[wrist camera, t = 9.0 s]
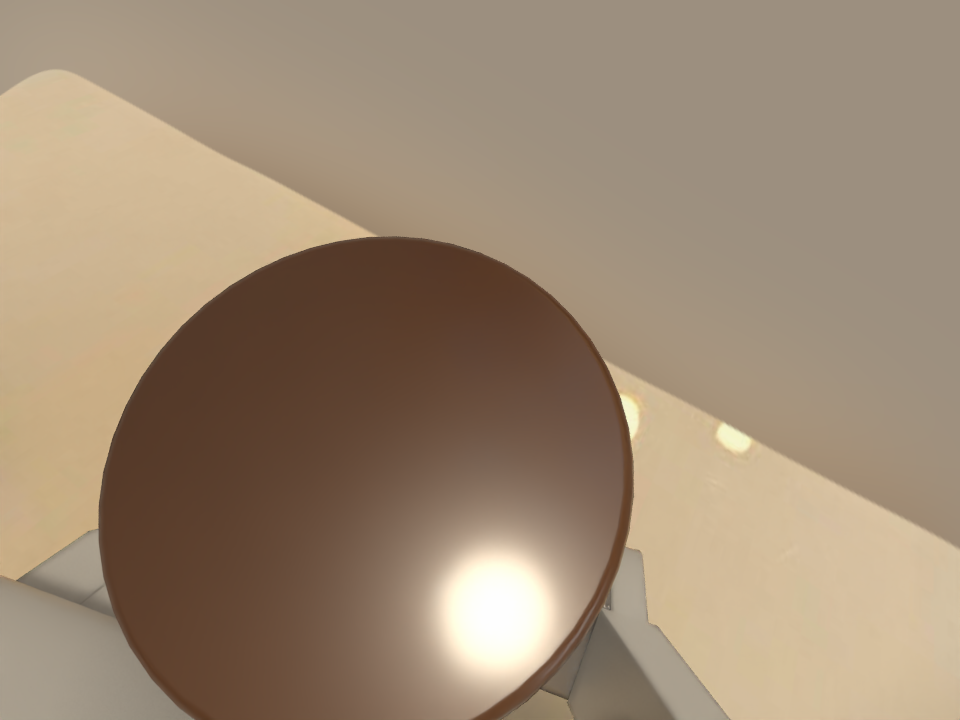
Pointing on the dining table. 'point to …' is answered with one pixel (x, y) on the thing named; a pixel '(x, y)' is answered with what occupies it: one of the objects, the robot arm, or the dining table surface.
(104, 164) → the dining table surface
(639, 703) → the robot arm
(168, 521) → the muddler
